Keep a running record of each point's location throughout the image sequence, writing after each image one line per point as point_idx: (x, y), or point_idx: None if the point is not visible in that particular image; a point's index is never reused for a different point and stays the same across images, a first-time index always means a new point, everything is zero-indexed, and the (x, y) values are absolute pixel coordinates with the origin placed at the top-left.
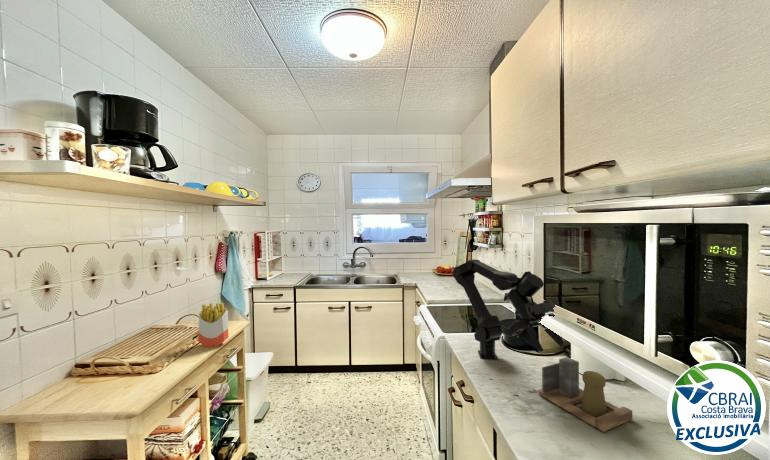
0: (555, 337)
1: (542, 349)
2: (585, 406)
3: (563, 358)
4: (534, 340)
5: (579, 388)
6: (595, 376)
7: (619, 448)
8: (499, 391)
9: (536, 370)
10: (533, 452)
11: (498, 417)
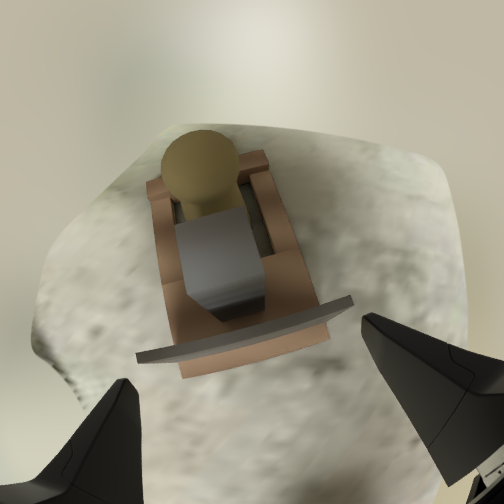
0: (123, 459)
1: (371, 315)
2: (247, 214)
3: (228, 279)
4: (445, 349)
5: (169, 323)
6: (208, 134)
7: (267, 134)
8: None
9: (215, 489)
10: (422, 156)
11: (460, 248)
